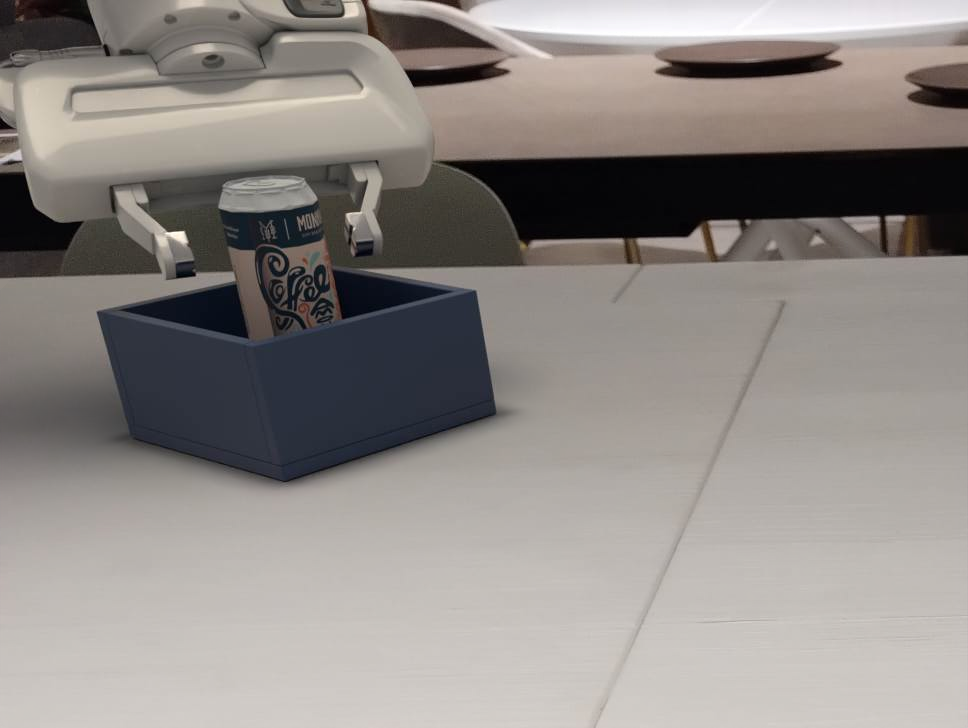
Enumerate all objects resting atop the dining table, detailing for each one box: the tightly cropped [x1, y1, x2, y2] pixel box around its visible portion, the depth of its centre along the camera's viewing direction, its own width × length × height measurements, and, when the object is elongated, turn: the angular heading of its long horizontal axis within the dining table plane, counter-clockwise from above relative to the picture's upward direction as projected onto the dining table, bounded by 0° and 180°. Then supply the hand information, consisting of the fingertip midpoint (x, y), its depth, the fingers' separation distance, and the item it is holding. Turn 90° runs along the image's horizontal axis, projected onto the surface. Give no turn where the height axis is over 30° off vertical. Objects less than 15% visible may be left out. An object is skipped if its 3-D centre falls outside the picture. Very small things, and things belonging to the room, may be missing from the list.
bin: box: [96, 264, 497, 482], centre depth 91 cm, size 14×14×7 cm
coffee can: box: [217, 176, 342, 341], centre depth 89 cm, size 5×5×12 cm
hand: (277, 260), depth 88 cm, fingers open, 8 cm apart
